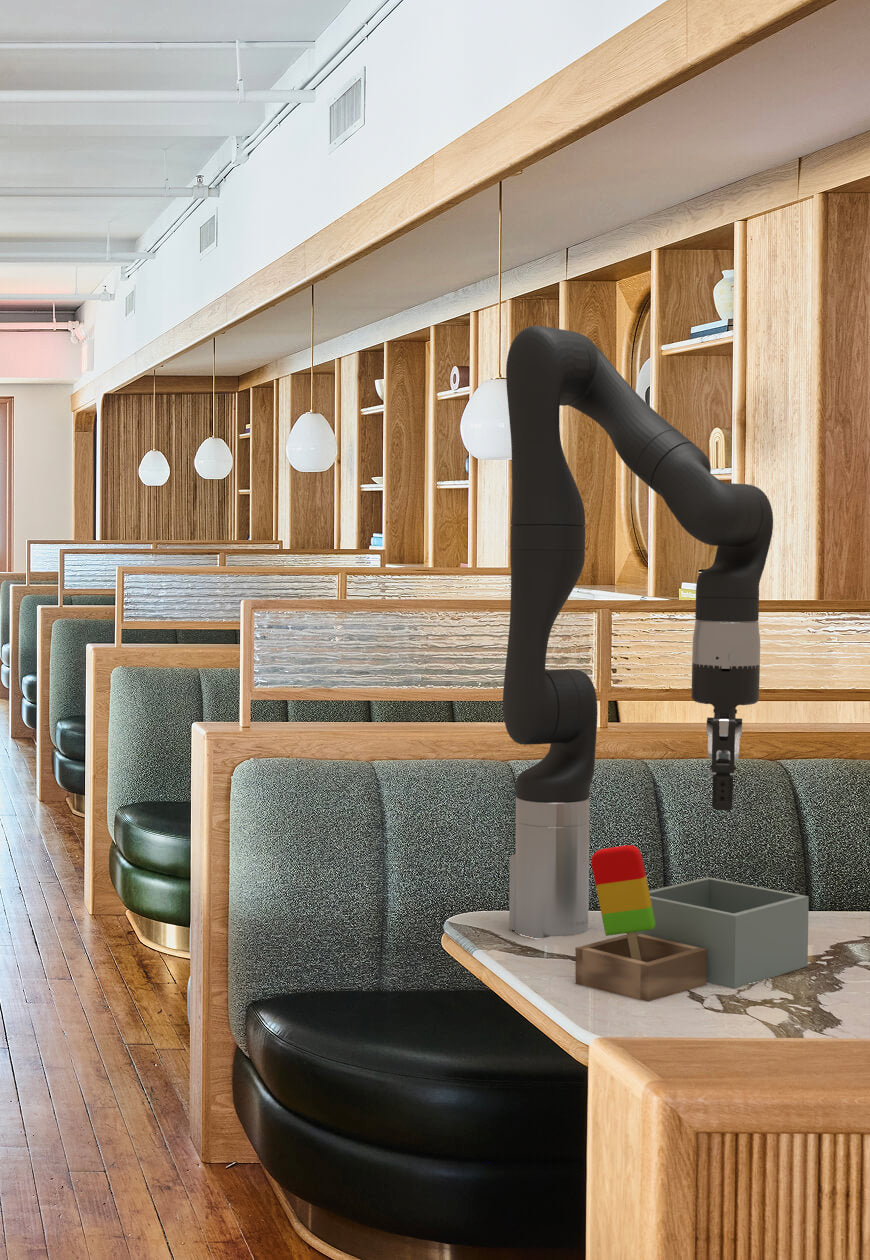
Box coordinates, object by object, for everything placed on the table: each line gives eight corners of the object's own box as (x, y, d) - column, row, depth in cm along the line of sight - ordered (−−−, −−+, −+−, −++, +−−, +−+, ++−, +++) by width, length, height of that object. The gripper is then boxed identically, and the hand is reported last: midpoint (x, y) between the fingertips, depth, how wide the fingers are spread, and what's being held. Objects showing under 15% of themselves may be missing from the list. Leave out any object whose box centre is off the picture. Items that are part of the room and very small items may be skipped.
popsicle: (587, 852, 161) (591, 849, 163) (615, 989, 161) (618, 984, 163) (637, 845, 159) (640, 842, 161) (664, 983, 159) (667, 978, 161)
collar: (575, 984, 161) (575, 947, 161) (634, 967, 168) (634, 932, 168) (647, 1004, 154) (648, 966, 153) (706, 985, 160) (706, 949, 160)
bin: (632, 963, 169) (633, 894, 169) (707, 942, 179) (707, 877, 178) (734, 989, 159) (735, 916, 159) (807, 966, 169) (808, 896, 168)
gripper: (694, 655, 175) (691, 791, 176) (690, 664, 161) (686, 812, 162) (759, 656, 173) (755, 794, 174) (760, 666, 159) (757, 816, 160)
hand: (722, 803), depth 168 cm, fingers open, 8 cm apart
